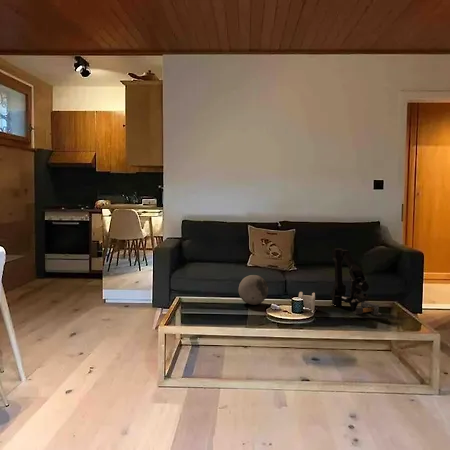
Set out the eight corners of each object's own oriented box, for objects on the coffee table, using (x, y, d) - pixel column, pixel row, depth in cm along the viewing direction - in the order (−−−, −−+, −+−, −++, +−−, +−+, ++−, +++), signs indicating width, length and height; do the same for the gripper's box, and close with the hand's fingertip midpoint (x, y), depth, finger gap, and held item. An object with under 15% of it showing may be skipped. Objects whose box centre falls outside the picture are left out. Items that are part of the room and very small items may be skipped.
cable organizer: (313, 315, 339) (315, 297, 338) (297, 313, 341) (298, 295, 340) (313, 309, 354) (315, 292, 353) (298, 307, 356) (299, 290, 354)
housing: (357, 308, 361) (358, 300, 360) (361, 308, 363) (362, 299, 362) (377, 315, 346) (377, 306, 345) (381, 315, 348) (382, 306, 347)
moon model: (238, 307, 348) (240, 277, 346) (237, 299, 368) (238, 271, 366) (268, 308, 349) (270, 279, 346) (265, 301, 369) (267, 272, 366)
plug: (357, 314, 346) (357, 308, 345) (352, 312, 349) (353, 307, 349) (372, 312, 353) (372, 306, 353) (367, 310, 357) (368, 305, 356)
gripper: (353, 291, 334) (351, 316, 335) (374, 290, 343) (372, 313, 344) (341, 288, 343) (339, 311, 345) (362, 286, 352) (360, 309, 354)
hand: (353, 311), depth 347 cm, fingers closed
